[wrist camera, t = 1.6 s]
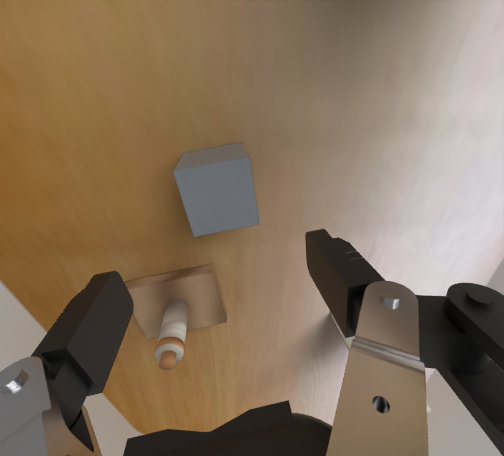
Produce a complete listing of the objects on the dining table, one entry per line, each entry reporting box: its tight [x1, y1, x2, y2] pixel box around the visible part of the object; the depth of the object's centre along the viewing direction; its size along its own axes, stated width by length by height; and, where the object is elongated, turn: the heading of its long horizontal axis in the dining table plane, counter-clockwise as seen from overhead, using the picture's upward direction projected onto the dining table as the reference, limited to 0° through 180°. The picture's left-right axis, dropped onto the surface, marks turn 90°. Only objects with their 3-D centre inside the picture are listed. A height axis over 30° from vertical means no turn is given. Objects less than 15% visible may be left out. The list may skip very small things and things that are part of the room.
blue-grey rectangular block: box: [173, 142, 260, 237], centre depth 21 cm, size 5×5×7 cm
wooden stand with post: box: [125, 264, 227, 370], centre depth 26 cm, size 10×8×9 cm
